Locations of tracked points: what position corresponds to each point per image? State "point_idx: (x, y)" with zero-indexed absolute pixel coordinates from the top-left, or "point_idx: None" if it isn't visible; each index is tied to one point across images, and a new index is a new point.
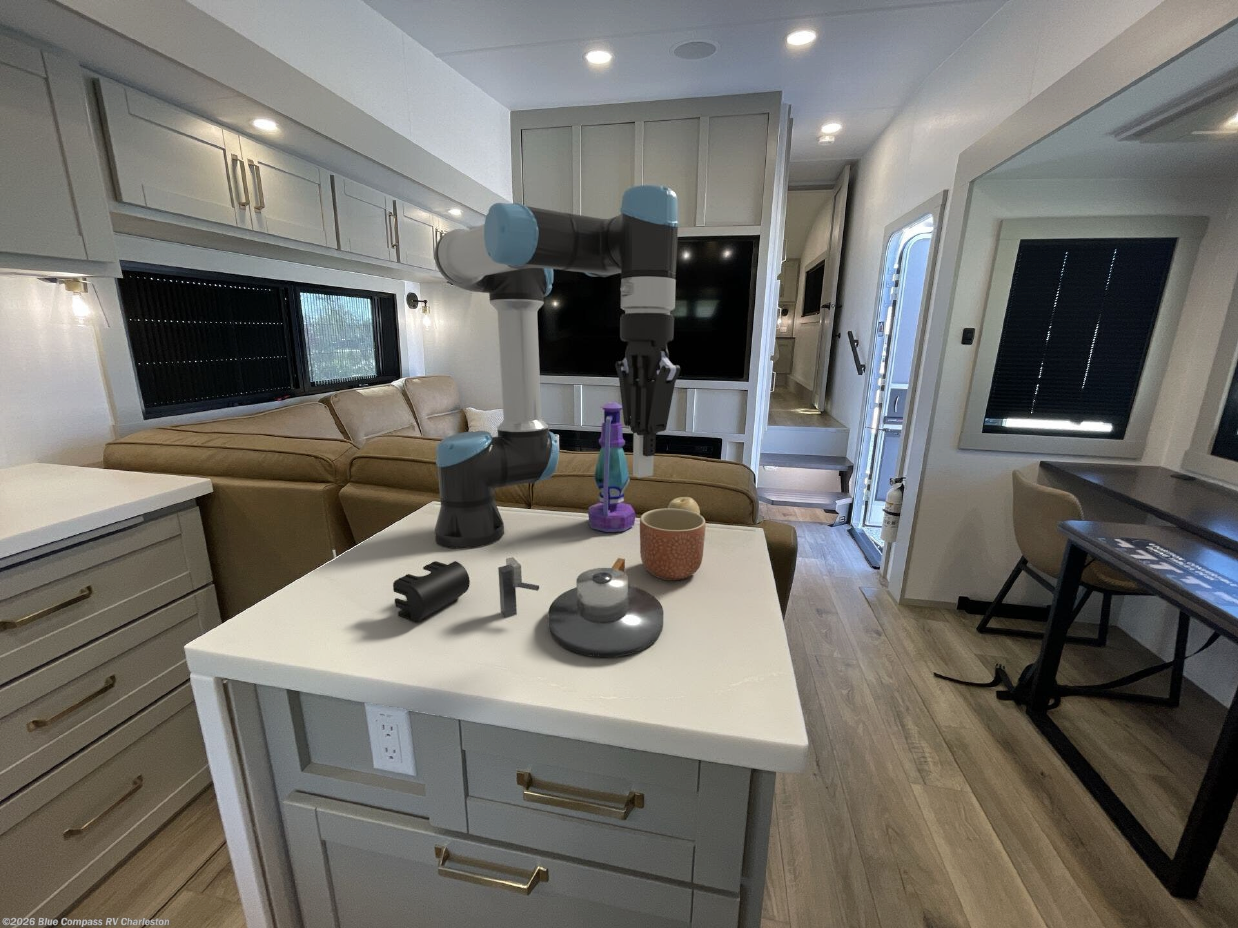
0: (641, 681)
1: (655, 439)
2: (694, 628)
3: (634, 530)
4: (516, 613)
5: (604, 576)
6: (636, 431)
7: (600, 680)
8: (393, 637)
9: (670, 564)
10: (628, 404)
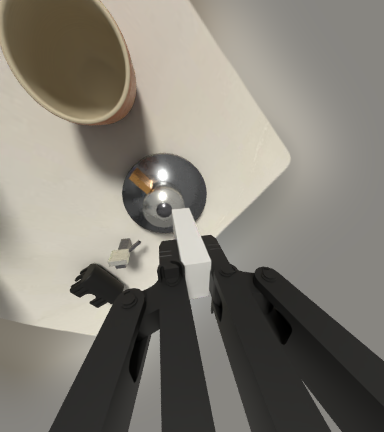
0: (223, 201)
1: (226, 258)
2: (202, 140)
3: None
4: (129, 238)
5: (165, 209)
6: (212, 311)
7: (210, 218)
8: (128, 288)
9: (130, 108)
10: (128, 414)
